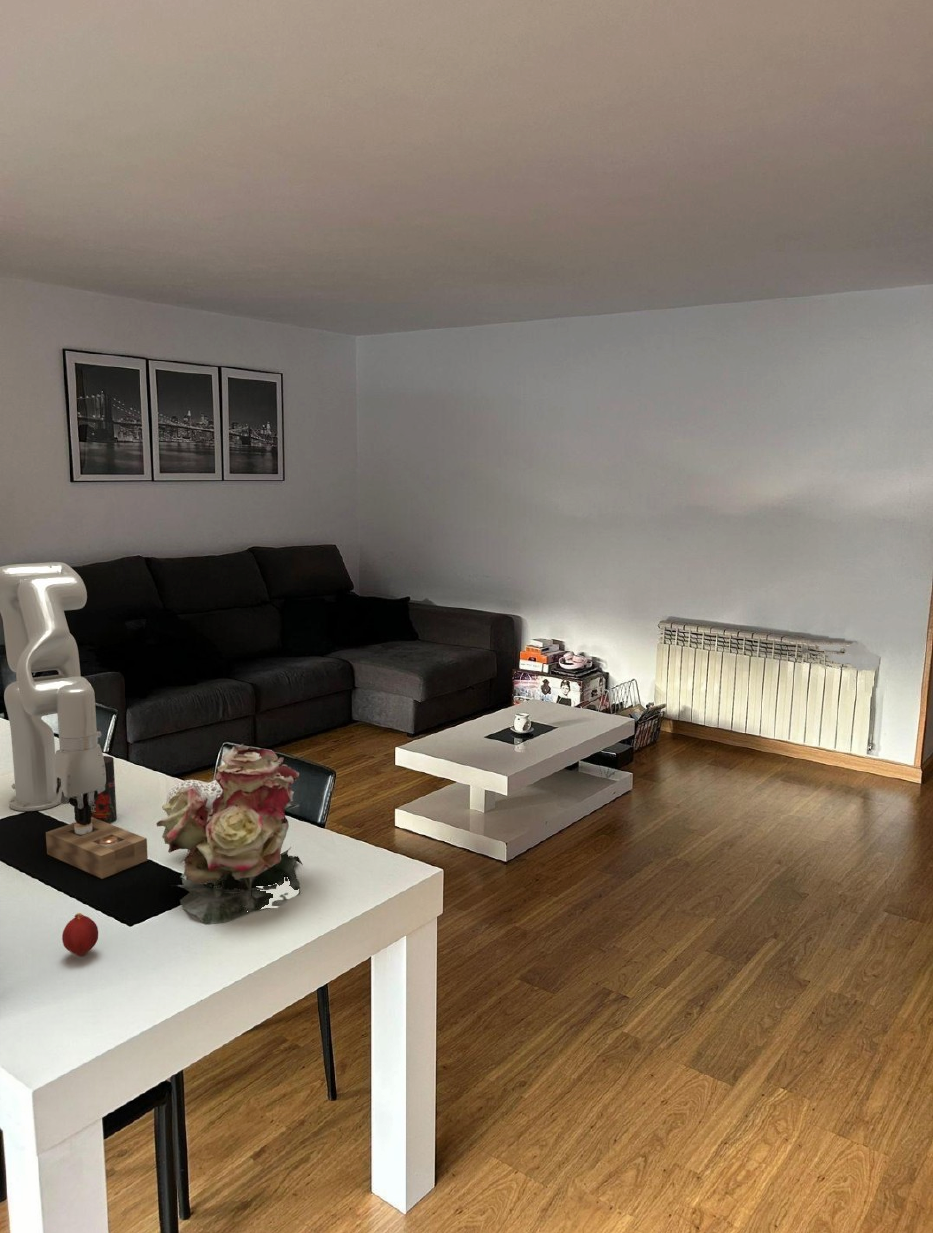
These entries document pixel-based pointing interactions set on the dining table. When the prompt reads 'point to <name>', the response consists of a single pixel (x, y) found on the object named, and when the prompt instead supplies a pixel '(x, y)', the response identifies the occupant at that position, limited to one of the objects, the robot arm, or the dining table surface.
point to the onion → (80, 935)
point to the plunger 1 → (83, 829)
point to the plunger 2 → (108, 841)
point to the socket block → (97, 848)
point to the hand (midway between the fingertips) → (83, 822)
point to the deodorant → (106, 796)
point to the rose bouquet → (234, 835)
